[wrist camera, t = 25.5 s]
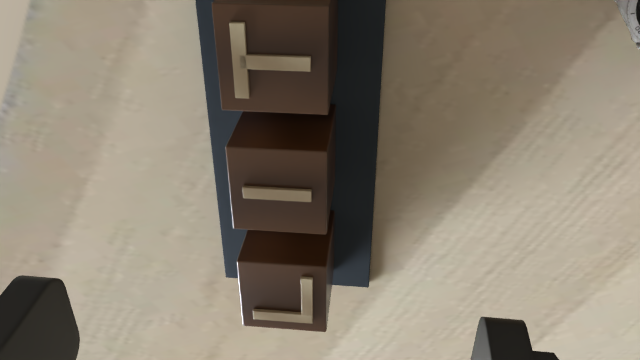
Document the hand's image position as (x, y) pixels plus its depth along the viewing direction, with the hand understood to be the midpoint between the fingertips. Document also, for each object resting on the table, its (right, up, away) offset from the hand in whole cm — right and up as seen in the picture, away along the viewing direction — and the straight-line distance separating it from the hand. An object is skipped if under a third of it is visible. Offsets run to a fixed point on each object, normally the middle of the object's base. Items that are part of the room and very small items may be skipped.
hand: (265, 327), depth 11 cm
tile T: (0, +10, +17) cm, 20 cm away
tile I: (0, +5, +20) cm, 21 cm away
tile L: (0, -1, +24) cm, 24 cm away
